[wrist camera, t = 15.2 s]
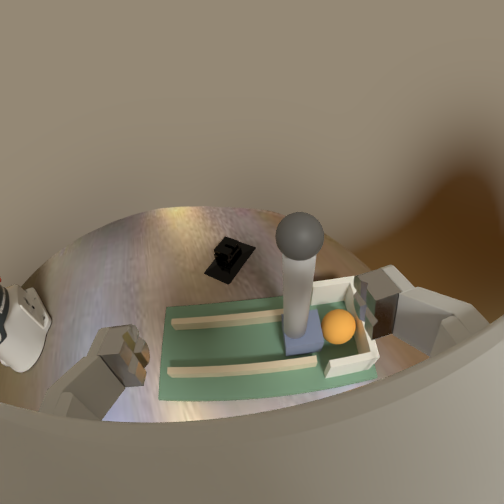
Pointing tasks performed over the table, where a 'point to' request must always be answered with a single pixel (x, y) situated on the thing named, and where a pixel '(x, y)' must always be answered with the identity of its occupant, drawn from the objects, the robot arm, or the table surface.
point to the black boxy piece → (228, 259)
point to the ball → (338, 326)
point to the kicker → (299, 282)
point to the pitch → (245, 355)
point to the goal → (320, 295)
